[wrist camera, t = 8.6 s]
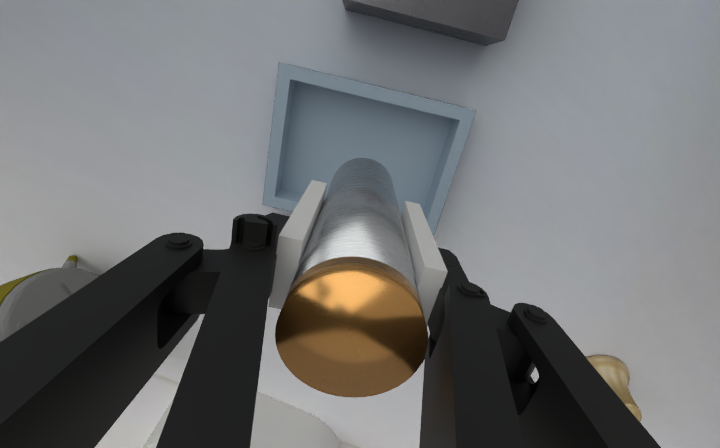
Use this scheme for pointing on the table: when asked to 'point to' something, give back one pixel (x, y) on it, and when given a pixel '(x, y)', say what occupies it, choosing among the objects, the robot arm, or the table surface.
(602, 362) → the hand bell
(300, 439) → the tissue box
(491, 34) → the block
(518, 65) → the table surface
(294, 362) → the steel pin
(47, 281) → the alarm clock
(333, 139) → the tray
